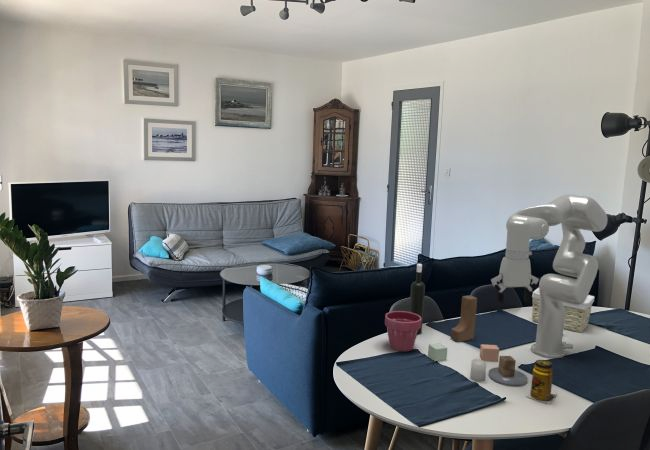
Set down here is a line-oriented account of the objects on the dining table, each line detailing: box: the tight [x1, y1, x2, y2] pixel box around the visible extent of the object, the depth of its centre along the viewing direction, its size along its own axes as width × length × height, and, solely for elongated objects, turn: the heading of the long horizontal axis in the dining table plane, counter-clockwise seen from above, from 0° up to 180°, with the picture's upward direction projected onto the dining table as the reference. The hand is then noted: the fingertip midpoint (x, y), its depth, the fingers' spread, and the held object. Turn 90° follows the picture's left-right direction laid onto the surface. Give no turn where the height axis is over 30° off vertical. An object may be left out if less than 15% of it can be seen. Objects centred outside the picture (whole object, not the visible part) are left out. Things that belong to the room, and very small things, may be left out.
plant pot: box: [384, 310, 422, 352], centre depth 208 cm, size 14×14×13 cm
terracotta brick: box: [479, 343, 500, 363], centre depth 200 cm, size 6×4×5 cm, turn 87°
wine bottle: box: [408, 263, 426, 335], centre depth 223 cm, size 6×6×30 cm
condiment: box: [525, 359, 557, 405], centre depth 172 cm, size 7×8×12 cm
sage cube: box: [427, 342, 448, 362], centre depth 199 cm, size 5×5×5 cm
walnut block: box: [498, 355, 517, 377], centre depth 185 cm, size 4×4×6 cm
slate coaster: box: [487, 366, 528, 387], centre depth 185 cm, size 13×13×1 cm
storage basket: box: [531, 287, 595, 333], centre depth 243 cm, size 24×16×15 cm
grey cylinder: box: [469, 358, 487, 383], centre depth 183 cm, size 5×5×6 cm
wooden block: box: [450, 295, 478, 343], centre depth 219 cm, size 9×4×18 cm, turn 118°
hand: (513, 301), depth 187 cm, fingers open, 9 cm apart
